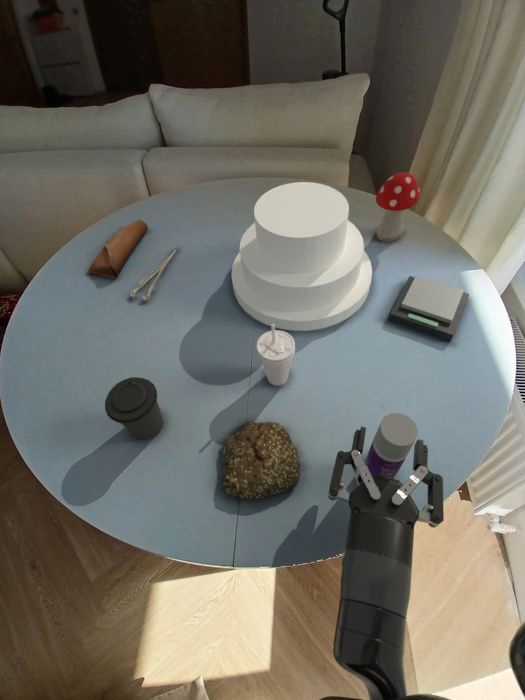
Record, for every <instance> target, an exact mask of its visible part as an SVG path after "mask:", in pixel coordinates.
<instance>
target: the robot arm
mask: <svg viewBox="0 0 525 700" xmlns="http://www.w3.org/2000/svg"><path fill="white" fill-rule="evenodd" d="M366 432H367V427H366V426H360V429H356V430H355V431H354V434H353V439H352V443H351V449H350V450H349V451H344V450H339V451H338V452H337V453H336V457H335V461H334V465H333V466H334V467H333V470H332V474H331V475H332V476H331V480H330V483H329V488H328V493H327V497H328V499H329V500H331V501H335V500H339V501H343V502H345V503H348V506H349V511H350V513H349V519H348V527H347V533H346V540H345V546H344V548H345V549H344V553H343V557H342V561H341V573H340V593H339V599H340V600H339V603H338V609H337V617H336V624H335V630H334V637H333V644H332V645H333V650H332V653H333V657H334V660H335V662H336V663H337V664H338V665H339V666H340V667H341V668H342V669H343V670H345V671H347V672H348V673H349V674H351V675H353V676H355V677H356V678H358V679H359V680H360V681H361V682H362V683H363V684H364V685H365V687H366V690H367V693H368V698H369V700H451V698H448V697H445V696H441V695H437V694H431V693H414V694H409V695H408V691H407V683H406V675H405V665H404V664H405V663H404V657H405V646H406V630H407V620H406V619H407V616H408V610H409V609H408V608H409V604H410V599H411V590H412V589H411V588H412V573H413V556H414V555H413V553H414V536H415V525H416V523H417V522H421V523H426V524H428V526H429V527H431V528H432V529H433V528H437V527H438V526H439V525H440V524H442V523H443V522H444V519H445V518H444V517H445V516H444V513H445V512H444V478H443V476H442V475H440V474H439V473H434V472H432V471H430V470H429V467H428V460H429V457H428V456H429V448H428V445H427V444H424V440H423V439H416V440H415V442H414V445H413V446H414V448H413V461H412V471H414V472H413V473H412V474H411V475H410V476H409V478H408V479H407V480H406V481H405V482H404V483H402V482H400V481H401V480H399V479H397V478H396V479H395V478H394V479H386V478H384V477H382V476H380V475H376V474H375V475H374V476H372V475H371V473H370V471H369V469H368V467H367V465H366V464H365V460H364V458H363V456H362V455H363V451H364V446H365V438H366ZM345 465H350V466H351V469H352V471H353V474H354V479H355V481H356V483H357V486H356V487H355V488H354V489H353V490H352V491H350V492H349V491H348V490H347V485H346V482H344V481H342V479H343V473H344V469H345ZM420 483H423V484H425V485H427V504H425V505H424V506H423V507H422V510H421V511H420V510H419V508H418V506H417V505H416V503H415V501H414V500H413V498H412V496H411V494H412V493H413V492H414V490H415V489H416V488H417V487H418V486H419V484H420ZM507 654H508V661H509V662H508V663H509V666H510V669H511V671H512V673H513V676H514V678H515V681H516V683H517V686H518V687H519V689H520V692H521V693H522V695H523V697H524V698H525V621H523V623H522V624H521V625H520V626H519V627H518V628H517V629H516V631H515V633H514V635H513V637H512V639H511V640H510V642H509V647H508V653H507ZM319 700H363V699H362V698H357V697H355V698H354V697H347V696H339V695H327V696H324V697H321V698H319Z"/></svg>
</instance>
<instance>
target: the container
mask: <svg viewBox="0 0 525 700" xmlns="http://www.w3.org/2000/svg"><path fill="white" fill-rule="evenodd" d="M418 431H419V430H418V427H417V425H416V423H415V421H414V420H413V419H412V418H411V417H410V416H408V415H406V414H404V413H401V412H392V413H388V414H386V415H385V416H383V418H382V419H381V421H380V424H379V425H378V428H377V430H376V432H375V435H374V436H373V439H372V442H371V445H370V447H369V450H368V453H367V456H366V457H365V460H364V463H365V464H366V465H367V467H368V469H369V471H370V473H371V475H372V476H374V475H375V474H376V475H380V476H382V477H384V478H386V479H395V477H397V474H398V472H399V471H400V469H401V467H402V466H403V464H404V462H405V460H406V458H407V457H408V456H409V453H410V451H411V450H412V447H413V446H414V445H415V443H416V441H417V437H418Z"/></svg>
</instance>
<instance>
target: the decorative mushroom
mask: <svg viewBox="0 0 525 700" xmlns="http://www.w3.org/2000/svg"><path fill="white" fill-rule="evenodd" d="M418 183H419V182H418V181H417V178H416V177H415V176H414V175H413V174H411V173H409V172H402V171H401V172H398V173H395V174H393V175H392V176H390V177H389V178H388V179H386V181H385V182H384V183H383V184H382V185H381V186H380V187H379V189H378V190H377V192H376V195H375V202H376V205H377V206H378V207H379V208H381V209H384V210H385V211H384V215H383V217H382V219H381V222H380V223H379V225H378V226H377V228H376V231H375V232H376V237H377V239H378V240H379V241H381V242H393V241H396V240H398V239H399V238H400V237H401V235H402V234H403V233H404V230H405V229H404V228H405V227H404V225H403V219H404V218H403V217H404V211H405V210H408V209H412V208H413V207H414V206H416V205H417V203H419V200H420V195H421V190H420V187H419V184H418Z"/></svg>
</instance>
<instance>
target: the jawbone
mask: <svg viewBox="0 0 525 700" xmlns="http://www.w3.org/2000/svg"><path fill="white" fill-rule="evenodd" d="M176 252H177V249H174V251H173V252H172V253H171V254H170V255H168V256H167V258H166V259H165V260H163V261H162V262H161V263H160V264H159V265H158V266H157V267H156V268H154V269H153V270H152V271H151V272H149V273H148V274H147V275H146V276H144V277H143V278H142V279H141V280H140V281H139V282H138V283H137V285H135V286H134V288H133V289H131V291H130V293H129V295H130V297H131V298H132V299H134V300H135V298H136V294H137V293H138V292H139V291H140V289H142V288H143V287H144V286H145V285H146V284H147V283H148V282H149V281H150V280H151V279H152V278H153V277H155V275H156V277H155V279H154V280H153V282H152V283H151V285H150V287H149V289H148V292H147V293H146V294H144V296H141V299H142V300H143V302H147V301H148V300H149V298H150V296H151V293H152V292H153V290H154V288H155V285H156V284H157V282H158V281H159V278H160V277H161V275H162V273H163V272H164V270H165V268H166V267H167V265H168V264H169V262H170V261H171V259H172V258H173V256H174V255H175V254H176Z"/></svg>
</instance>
